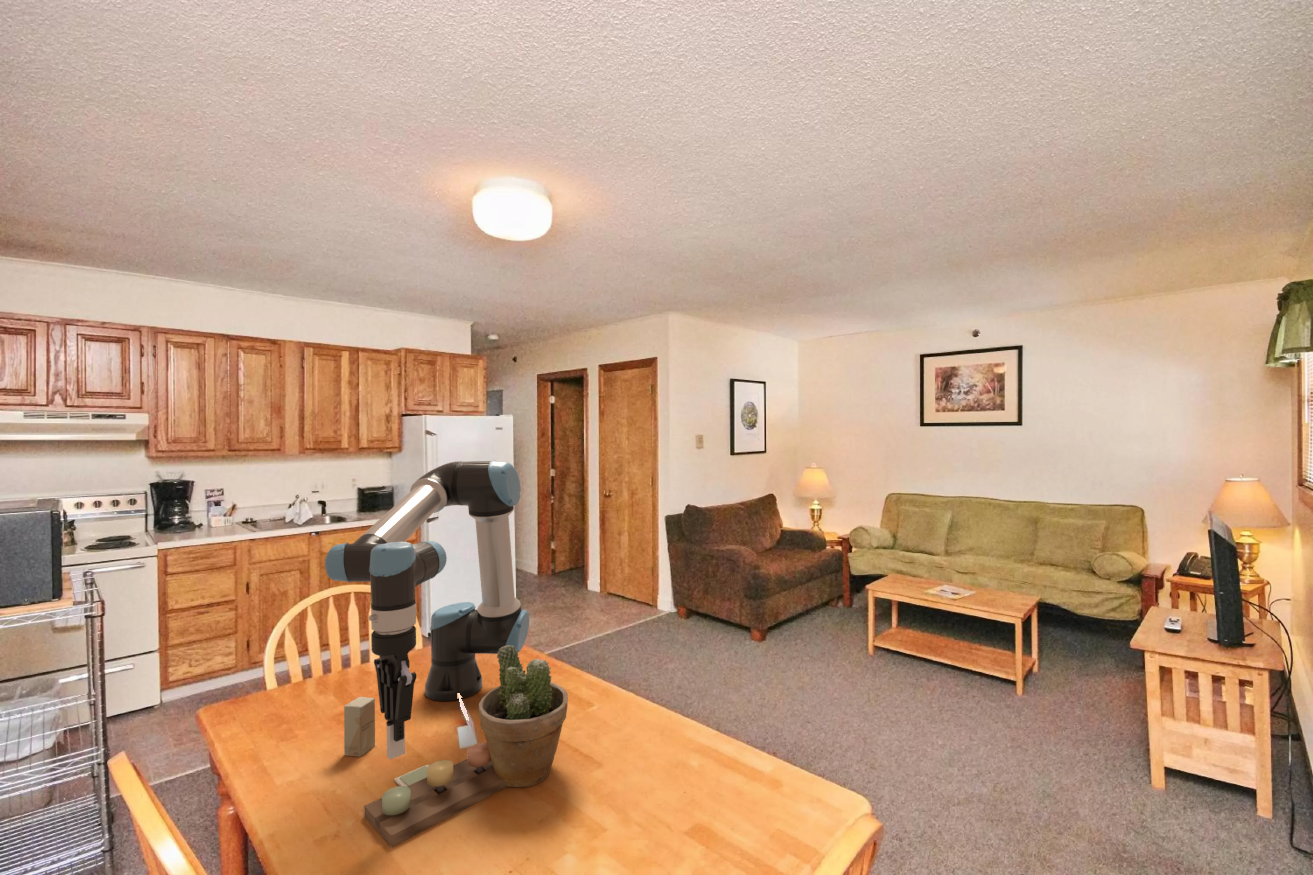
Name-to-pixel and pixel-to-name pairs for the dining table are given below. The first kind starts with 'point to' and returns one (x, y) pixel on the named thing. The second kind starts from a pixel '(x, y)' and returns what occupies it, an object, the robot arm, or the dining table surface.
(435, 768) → the button ochre
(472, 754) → the button terracotta
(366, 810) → the board
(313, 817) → the dining table surface
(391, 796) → the button green
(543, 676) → the potted plant
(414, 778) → the swatch
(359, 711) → the box
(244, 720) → the dining table surface
